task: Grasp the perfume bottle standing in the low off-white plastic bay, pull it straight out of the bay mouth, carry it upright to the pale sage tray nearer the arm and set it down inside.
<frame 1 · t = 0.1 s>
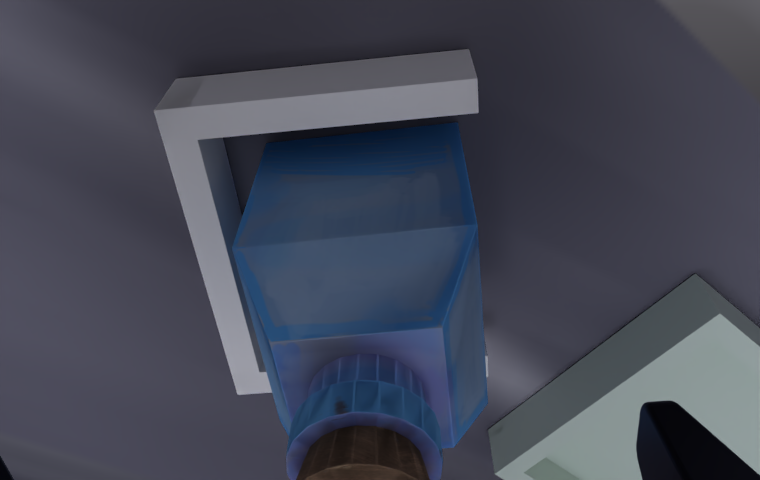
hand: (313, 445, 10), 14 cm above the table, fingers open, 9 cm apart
perfume bottle: (373, 211, 25), on the table
tray: (709, 448, 31), on the table
bay: (373, 215, 25), on the table
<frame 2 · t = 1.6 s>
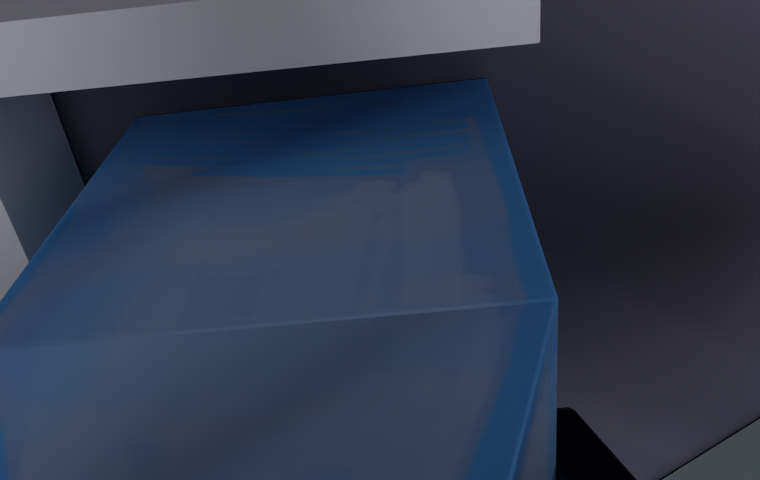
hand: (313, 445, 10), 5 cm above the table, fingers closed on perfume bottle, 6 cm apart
perfume bottle: (336, 240, 14), on the table, touching gripper
bay: (335, 246, 14), on the table
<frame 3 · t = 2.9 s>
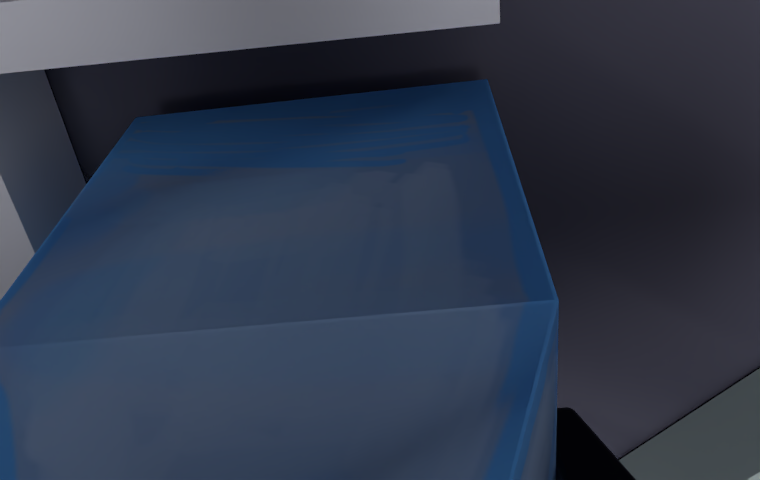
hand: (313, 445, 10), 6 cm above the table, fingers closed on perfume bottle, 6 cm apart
perfume bottle: (335, 241, 14), point 1 cm above the table, touching gripper
bay: (317, 222, 15), on the table
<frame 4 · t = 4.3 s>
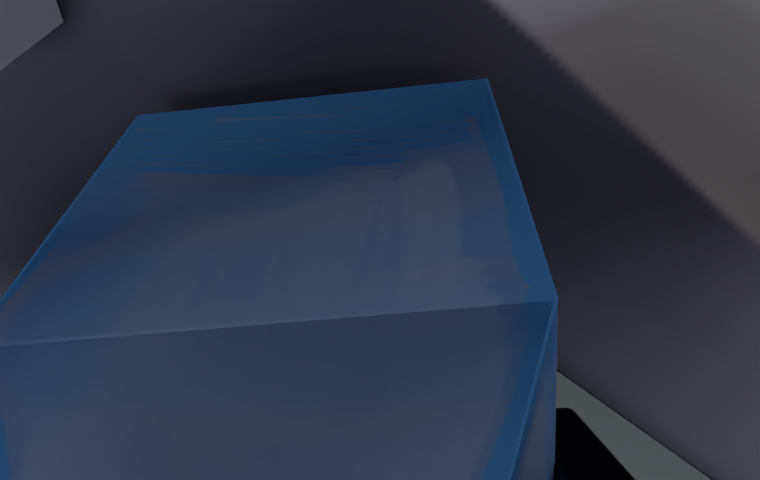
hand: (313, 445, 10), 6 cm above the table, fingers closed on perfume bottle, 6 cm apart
perfume bottle: (336, 239, 14), point 1 cm above the table, touching gripper
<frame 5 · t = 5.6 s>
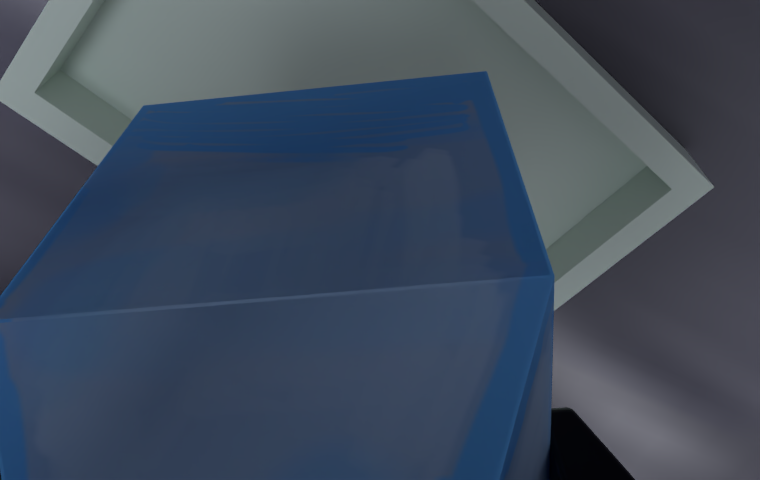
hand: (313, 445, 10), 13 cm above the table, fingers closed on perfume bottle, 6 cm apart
perfume bottle: (337, 229, 15), point 7 cm above the table, touching gripper
tray: (366, 108, 21), on the table
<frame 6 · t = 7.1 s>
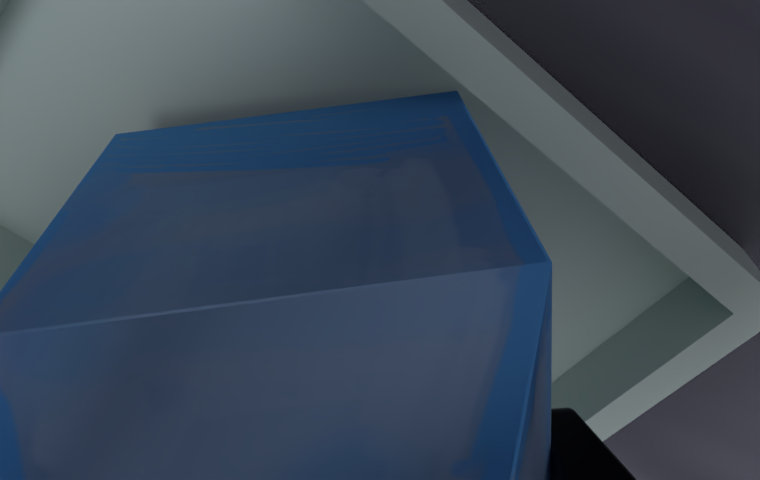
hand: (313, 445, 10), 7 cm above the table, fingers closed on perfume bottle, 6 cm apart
perfume bottle: (313, 255, 15), point 2 cm above the table, touching gripper, tray
tray: (325, 208, 16), on the table
when the fingers open (7 cm above the table, at t = 7.3 s): perfume bottle stays where it is, resting on tray.
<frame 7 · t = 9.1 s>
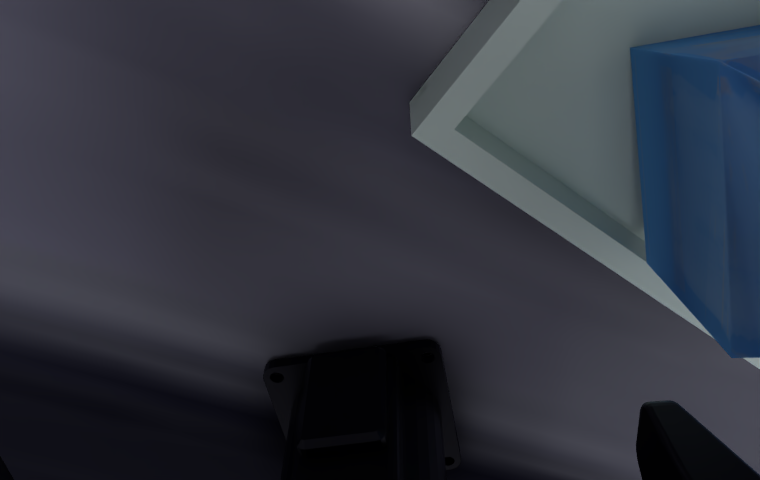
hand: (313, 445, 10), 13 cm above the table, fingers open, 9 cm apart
perfume bottle: (750, 140, 20), point 1 cm above the table, touching tray
tray: (737, 114, 21), on the table
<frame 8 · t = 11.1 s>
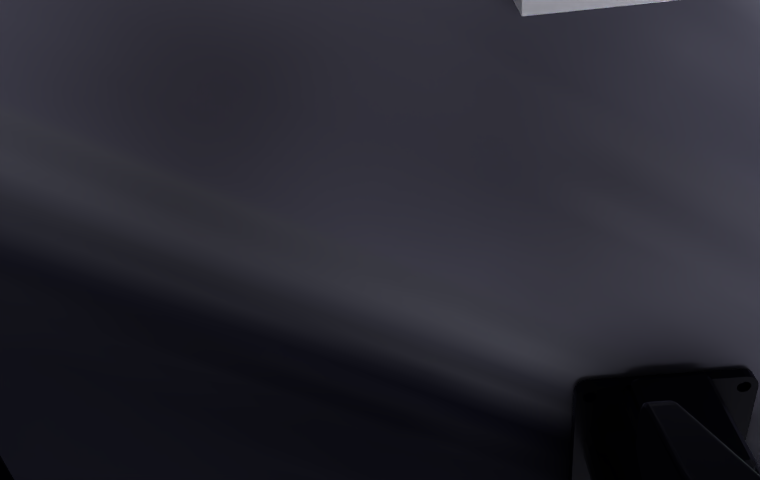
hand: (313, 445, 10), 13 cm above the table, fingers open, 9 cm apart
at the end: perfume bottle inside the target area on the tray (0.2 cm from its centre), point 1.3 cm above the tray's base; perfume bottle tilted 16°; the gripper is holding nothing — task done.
